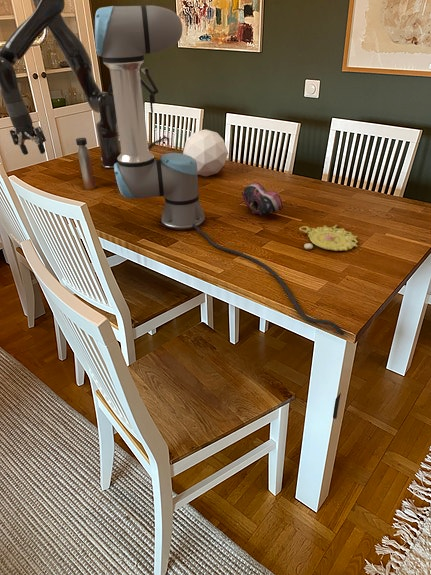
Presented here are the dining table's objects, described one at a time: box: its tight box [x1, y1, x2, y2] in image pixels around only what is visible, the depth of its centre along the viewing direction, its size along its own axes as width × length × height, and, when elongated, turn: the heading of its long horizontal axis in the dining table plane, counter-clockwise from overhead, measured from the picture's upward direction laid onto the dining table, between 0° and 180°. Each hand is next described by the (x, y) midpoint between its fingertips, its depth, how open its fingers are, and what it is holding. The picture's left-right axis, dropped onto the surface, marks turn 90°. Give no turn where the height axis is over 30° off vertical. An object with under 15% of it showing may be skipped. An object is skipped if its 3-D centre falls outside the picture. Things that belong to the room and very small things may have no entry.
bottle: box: [77, 144, 97, 191], centre depth 183 cm, size 5×5×20 cm
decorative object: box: [299, 224, 359, 252], centre depth 141 cm, size 21×2×20 cm
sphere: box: [182, 128, 229, 177], centre depth 194 cm, size 19×20×20 cm
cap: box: [75, 137, 88, 147], centre depth 178 cm, size 4×4×2 cm
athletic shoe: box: [238, 182, 284, 217], centre depth 160 cm, size 11×22×12 cm
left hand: (34, 153), depth 184 cm, fingers open, 8 cm apart
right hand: (135, 113), depth 181 cm, fingers open, 13 cm apart
